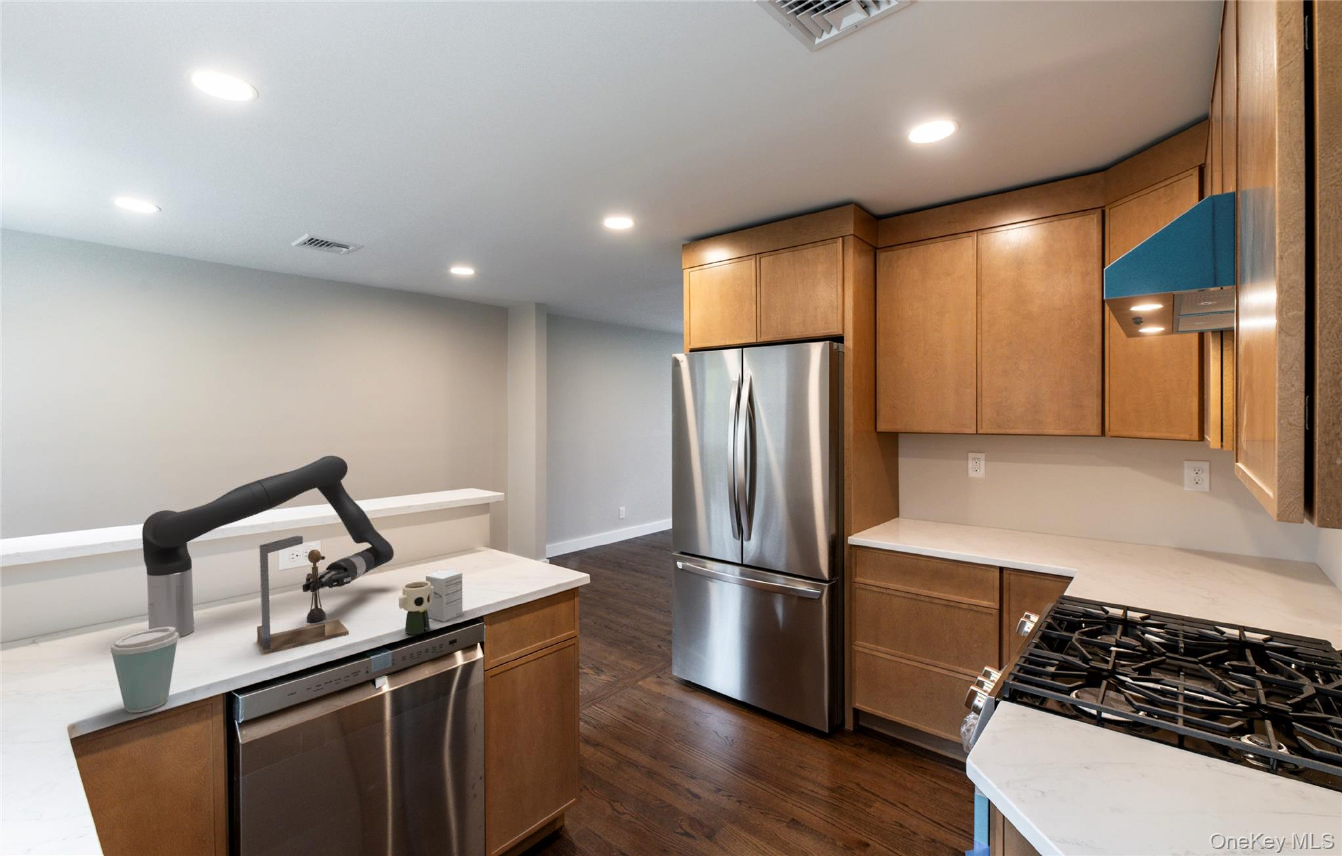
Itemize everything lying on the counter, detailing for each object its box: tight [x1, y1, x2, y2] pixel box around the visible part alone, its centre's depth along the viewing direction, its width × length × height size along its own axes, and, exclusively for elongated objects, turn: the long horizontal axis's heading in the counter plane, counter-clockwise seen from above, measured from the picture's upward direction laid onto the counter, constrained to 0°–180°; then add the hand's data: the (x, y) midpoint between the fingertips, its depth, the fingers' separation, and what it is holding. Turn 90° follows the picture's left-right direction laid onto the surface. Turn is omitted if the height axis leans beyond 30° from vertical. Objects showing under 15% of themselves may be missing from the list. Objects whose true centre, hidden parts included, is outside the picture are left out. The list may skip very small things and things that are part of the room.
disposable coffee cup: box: [110, 627, 181, 714], centre depth 122 cm, size 11×11×15 cm
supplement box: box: [425, 569, 463, 623], centre depth 173 cm, size 7×7×13 cm
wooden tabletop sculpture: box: [306, 549, 327, 625], centre depth 164 cm, size 6×5×20 cm
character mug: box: [398, 580, 434, 635], centre depth 161 cm, size 11×7×13 cm, turn 152°
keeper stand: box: [256, 535, 350, 655], centre depth 156 cm, size 19×11×27 cm, turn 132°
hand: (307, 588), depth 161 cm, fingers closed on wooden tabletop sculpture, 1 cm apart
